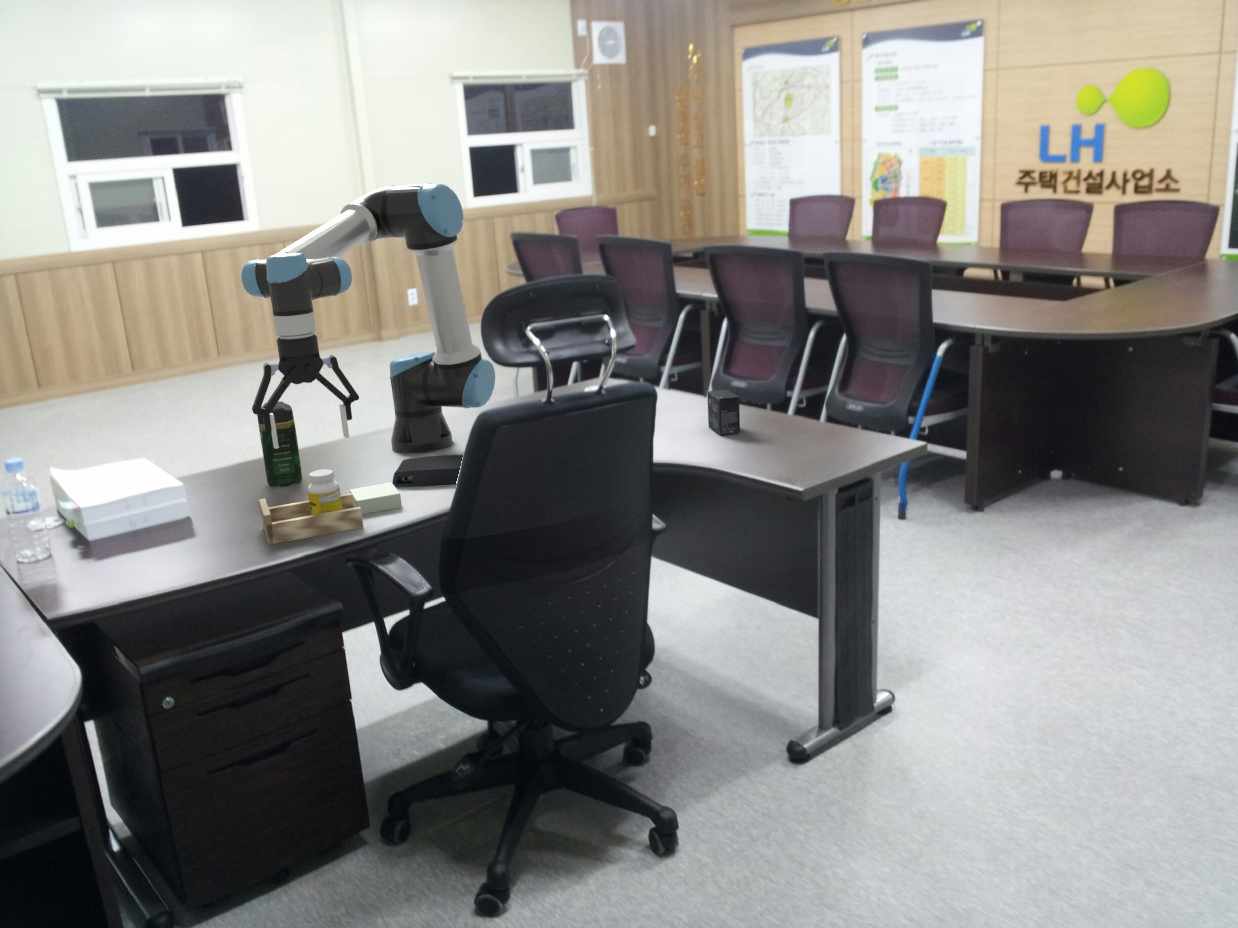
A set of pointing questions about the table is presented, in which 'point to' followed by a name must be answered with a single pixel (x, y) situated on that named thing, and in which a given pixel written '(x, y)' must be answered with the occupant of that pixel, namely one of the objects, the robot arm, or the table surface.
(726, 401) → the box
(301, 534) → the tray
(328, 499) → the pill bottle
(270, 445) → the coffee jar
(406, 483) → the external hard drive
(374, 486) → the stand
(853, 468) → the table surface
